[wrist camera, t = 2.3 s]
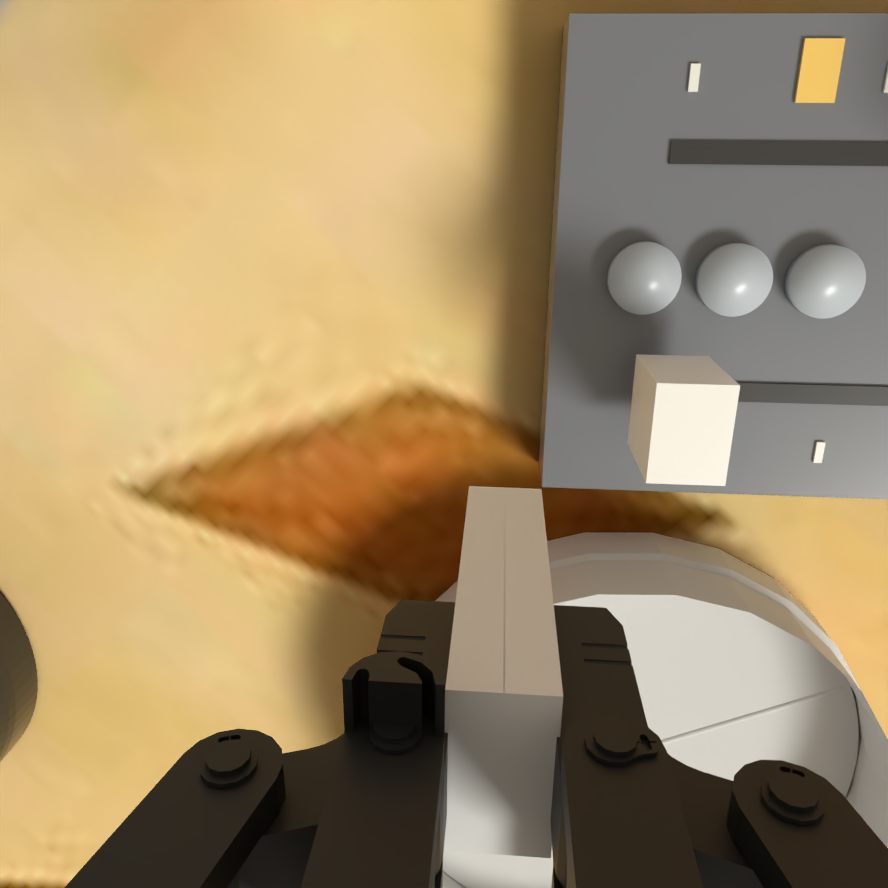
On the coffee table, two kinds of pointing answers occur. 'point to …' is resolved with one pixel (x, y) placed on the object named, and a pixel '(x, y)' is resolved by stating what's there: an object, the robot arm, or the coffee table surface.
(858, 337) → the console
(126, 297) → the coffee table surface
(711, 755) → the dish
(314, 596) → the coffee table surface
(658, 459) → the cream block
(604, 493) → the coffee table surface
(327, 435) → the coffee table surface
